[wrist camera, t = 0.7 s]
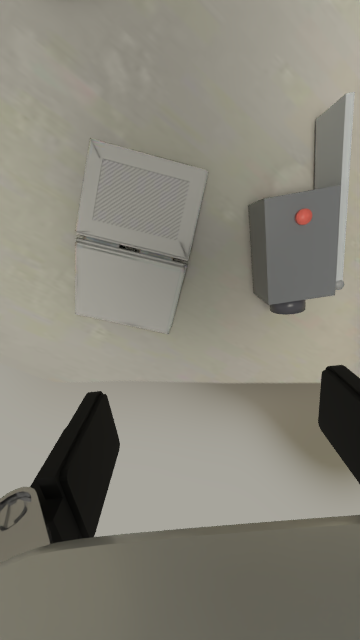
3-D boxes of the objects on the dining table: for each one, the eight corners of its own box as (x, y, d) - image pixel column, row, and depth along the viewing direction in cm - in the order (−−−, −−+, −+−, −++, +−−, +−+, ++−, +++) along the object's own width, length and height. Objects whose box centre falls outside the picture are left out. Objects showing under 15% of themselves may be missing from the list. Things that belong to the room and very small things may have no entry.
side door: (314, 119, 29) (343, 93, 23) (328, 116, 28) (361, 90, 23) (311, 282, 35) (333, 290, 30) (322, 280, 35) (347, 288, 30)
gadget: (170, 331, 39) (169, 341, 35) (76, 311, 38) (66, 318, 34) (208, 173, 31) (211, 165, 28) (92, 142, 30) (81, 130, 27)
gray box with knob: (248, 205, 32) (266, 197, 25) (309, 194, 32) (344, 183, 25) (254, 305, 37) (270, 321, 30) (308, 297, 36) (337, 312, 29)
